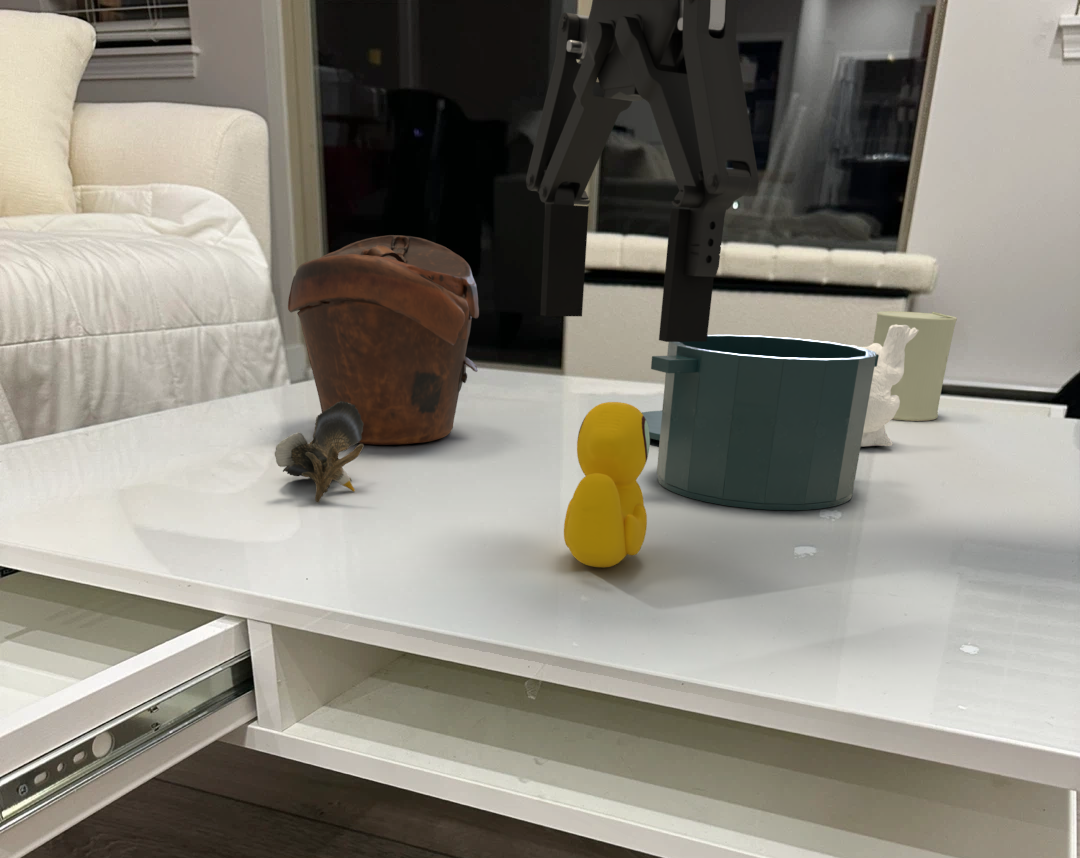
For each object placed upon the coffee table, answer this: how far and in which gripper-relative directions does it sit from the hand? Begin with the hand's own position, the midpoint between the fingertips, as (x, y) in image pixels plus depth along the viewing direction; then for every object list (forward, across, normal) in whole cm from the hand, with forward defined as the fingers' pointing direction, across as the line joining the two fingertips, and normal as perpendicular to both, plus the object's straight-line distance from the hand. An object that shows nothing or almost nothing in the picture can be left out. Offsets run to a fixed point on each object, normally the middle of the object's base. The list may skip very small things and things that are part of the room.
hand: (616, 328), depth 63 cm
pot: (+14, -14, +24) cm, 31 cm away
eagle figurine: (+15, -24, -11) cm, 30 cm away
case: (+15, -44, +2) cm, 46 cm away
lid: (+14, -34, +34) cm, 50 cm away
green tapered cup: (+14, -39, +67) cm, 79 cm away
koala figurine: (+14, -25, +48) cm, 56 cm away
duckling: (+15, 0, 0) cm, 15 cm away
